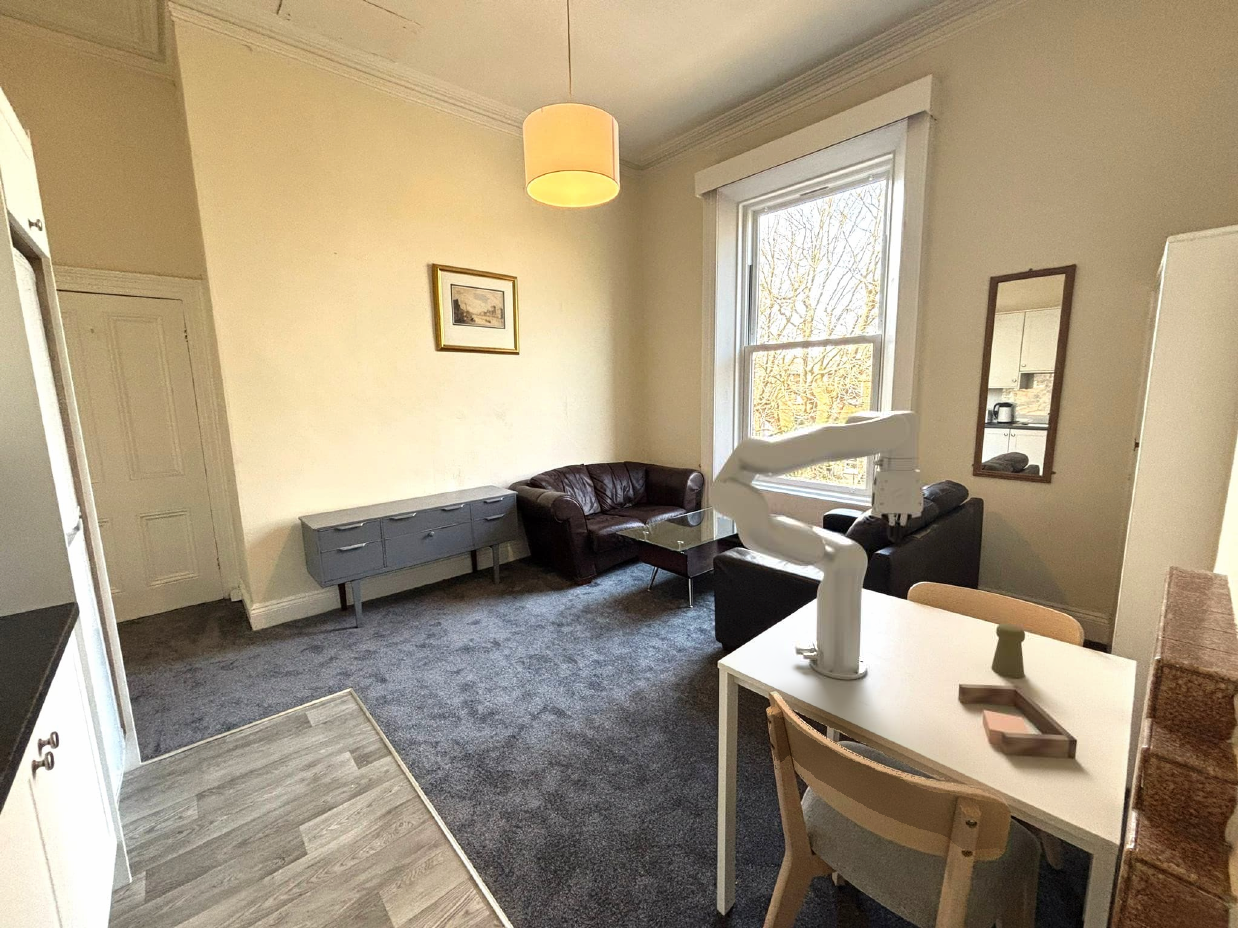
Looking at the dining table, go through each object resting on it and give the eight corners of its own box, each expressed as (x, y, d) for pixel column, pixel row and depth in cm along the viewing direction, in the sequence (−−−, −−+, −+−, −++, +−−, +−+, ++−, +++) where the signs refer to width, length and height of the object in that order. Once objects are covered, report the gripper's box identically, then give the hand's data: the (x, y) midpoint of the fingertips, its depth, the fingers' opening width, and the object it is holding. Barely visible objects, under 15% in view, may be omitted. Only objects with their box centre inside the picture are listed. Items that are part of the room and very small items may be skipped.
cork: (1030, 679, 113) (1034, 632, 111) (999, 677, 114) (1002, 631, 113) (1015, 665, 119) (1018, 620, 117) (986, 663, 120) (989, 619, 118)
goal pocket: (1005, 754, 91) (1006, 736, 91) (958, 699, 107) (959, 683, 107) (1075, 758, 90) (1077, 740, 89) (1016, 701, 106) (1018, 685, 105)
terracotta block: (988, 743, 95) (989, 728, 94) (982, 723, 100) (983, 709, 99) (1029, 752, 92) (1030, 737, 91) (1020, 731, 97) (1021, 717, 97)
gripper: (869, 467, 116) (866, 545, 119) (939, 466, 114) (935, 545, 117) (858, 462, 123) (856, 536, 126) (924, 461, 121) (921, 535, 124)
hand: (894, 540), depth 121 cm, fingers closed
